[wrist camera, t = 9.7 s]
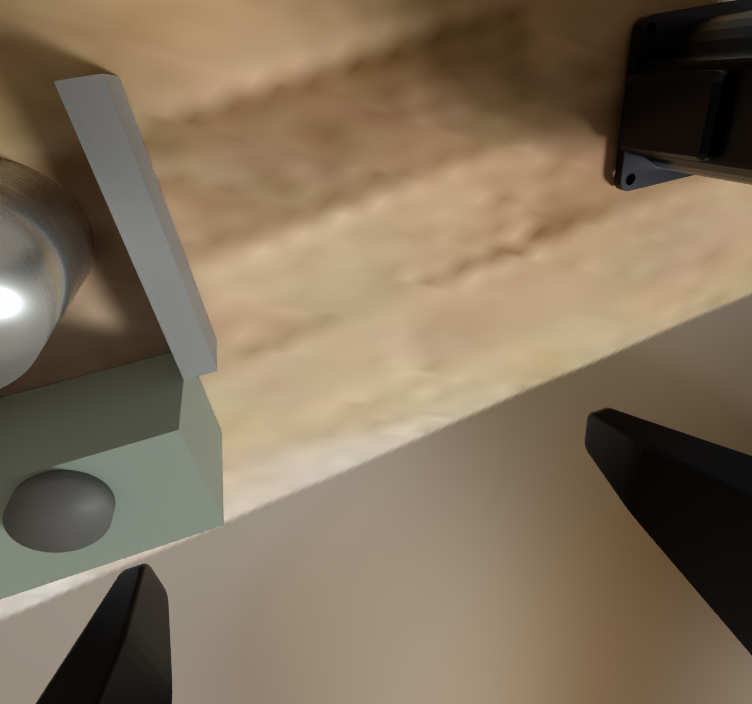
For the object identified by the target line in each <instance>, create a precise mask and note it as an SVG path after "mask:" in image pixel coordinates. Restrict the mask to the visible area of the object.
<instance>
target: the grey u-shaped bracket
mask: <svg viewBox="0 0 752 704" xmlns="http://www.w3.org/2000/svg"><path fill="white" fill-rule="evenodd" d="M54 83H55V86H56V88H57V90H58V92H59V95H60V97H61V99H62V102H63V104H64V106H65V109H66V111H67V113H68V115H69V118H70V120H71V122H72V125H73V127H74V129H75V132H76V134H77V136H78V138H79V141H80V143H81V145H82V148H83V150H84V152H85V154H86V157H87V159H88V161H89V164H90V166H91V168H92V171H93V173H94V175H95V177H96V180H97V182H98V184H99V187H100V189H101V191H102V193H103V196H104V198H105V200H106V203H107V205H108V207H109V210H110V212H111V214H112V216H113V219H114V221H115V223H116V226H117V228H118V230H119V233H120V235H121V237H122V239H123V242H124V244H125V246H126V249H127V251H128V253H129V255H130V258H131V260H132V262H133V265H134V267H135V269H136V272H137V274H138V276H139V278H140V281H141V283H142V285H143V288H144V290H145V292H146V294H147V297H148V299H149V301H150V304H151V306H152V308H153V311H154V313H155V315H156V317H157V320H158V322H159V324H160V327H161V329H162V331H163V334H164V336H165V338H166V340H167V343H168V345H169V347H170V350H171V352H172V353H168V354H164V355H160V356H156V357H153V358H149V359H145V360H141V361H137V362H134V363H130V364H126V365H122V366H118V367H115V368H111V369H107V370H103V371H99V372H96V373H92V374H88V375H84V376H80V377H77V378H73V379H69V380H65V381H61V382H58V383H54V384H50V385H46V386H42V387H39V388H35V389H31V390H27V391H23V392H20V393H16V394H12V395H8V396H4V397H1V398H0V599H3V598H6V597H9V596H12V595H15V594H18V593H21V592H24V591H27V590H30V589H33V588H36V587H39V586H42V585H45V584H48V583H51V582H54V581H57V580H60V579H63V578H66V577H69V576H72V575H75V574H78V573H81V572H84V571H87V570H90V569H93V568H96V567H99V566H102V565H105V564H108V563H111V562H114V561H117V560H120V559H123V558H126V557H129V556H132V555H135V554H138V553H141V552H144V551H147V550H150V549H153V548H156V547H159V546H162V545H165V544H168V543H171V542H174V541H177V540H180V539H183V538H186V537H189V536H192V535H195V534H198V533H201V532H204V531H207V530H210V529H213V528H216V527H219V526H222V525H224V514H223V471H222V432H221V429H220V427H219V425H218V422H217V420H216V417H215V415H214V412H213V410H212V408H211V405H210V403H209V400H208V398H207V396H206V393H205V391H204V388H203V386H202V383H201V381H200V379H199V376H200V375H204V374H207V373H211V372H215V371H217V340H216V337H215V335H214V332H213V329H212V327H211V324H210V321H209V319H208V316H207V313H206V310H205V308H204V305H203V302H202V300H201V297H200V294H199V292H198V289H197V286H196V284H195V281H194V278H193V275H192V273H191V270H190V267H189V265H188V262H187V259H186V257H185V254H184V251H183V249H182V246H181V243H180V240H179V238H178V235H177V232H176V230H175V227H174V224H173V222H172V219H171V216H170V214H169V211H168V208H167V205H166V203H165V200H164V197H163V195H162V192H161V189H160V187H159V184H158V181H157V179H156V176H155V173H154V170H153V168H152V165H151V162H150V160H149V157H148V154H147V152H146V149H145V146H144V144H143V141H142V138H141V136H140V133H139V130H138V127H137V125H136V122H135V119H134V117H133V114H132V111H131V109H130V106H129V103H128V101H127V98H126V95H125V92H124V90H123V87H122V84H121V82H120V79H119V76H116V75H110V74H103V73H101V74H95V75H89V76H82V77H76V78H69V79H63V80H57V81H54Z"/></svg>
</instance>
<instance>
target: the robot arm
mask: <svg viewBox="0 0 752 704" xmlns="http://www.w3.org/2000/svg"><path fill="white" fill-rule="evenodd" d="M646 26H648V32H647V35H646V36H645V28H646ZM628 175H629V178H628V180H627V182H626V178H627V176H628ZM691 175H699V176H705V177H711V178H716V179H722V180H728V181H734V182H739V183H745V184H751V185H752V0H735V1H729V2H723V3H717V4H711V5H705V6H699V7H693V8H688V9H682V10H676V11H670V12H664V13H658V14H652V15H646V16H643V17H641V18H639V19H638V20H637V21H636V22H635V24H634V26H633V29H632V33H631V41H630V50H629V58H628V67H627V76H626V84H625V93H624V102H623V111H622V119H621V128H620V137H619V146H618V154H617V163H616V172H615V186H616V188H618V189H620V190H624V191H630V190H634V189H638V188H643V187H647V186H651V185H655V184H659V183H663V182H667V181H671V180H675V179H679V178H683V177H687V176H691ZM585 447H586V449H587V452H588V453H589V455H590V456H591V458H592V459H593V460H594V462H595V463H596V465H597V466H598V468H599V469H600V471H601V472H602V473H603V475H604V476H605V478H606V479H607V480H608V482H609V483H610V485H611V486H612V488H613V489H614V491H615V492H616V493H617V495H618V496H619V498H620V499H621V501H622V502H623V503H624V505H625V506H626V507H627V509H628V510H629V512H630V513H631V514H632V515H633V517H634V518H635V519H636V520H637V521H638V522H639V524H640V525H641V526H642V527H643V528H644V530H645V531H646V532H647V533H648V534H649V536H650V537H651V538H652V539H653V540H654V541H655V543H656V544H657V545H658V546H659V547H660V548H661V550H662V551H663V552H664V553H665V554H666V555H667V557H668V558H669V559H670V560H671V561H672V562H673V564H674V565H675V566H676V567H677V568H678V570H679V571H680V572H681V573H682V574H683V575H684V577H685V578H686V579H687V580H688V581H689V582H690V584H691V585H692V586H693V587H694V588H695V589H696V591H697V592H698V593H699V594H700V595H701V596H702V598H703V599H704V600H705V601H706V602H707V604H708V605H709V606H710V607H711V608H712V609H713V611H714V612H715V613H716V614H717V615H718V616H719V617H720V619H721V620H722V621H723V622H724V623H725V625H726V626H727V627H728V628H729V629H730V630H731V631H732V633H733V634H734V635H735V636H736V637H737V639H738V640H739V641H740V642H741V643H742V645H743V646H744V647H745V648H746V649H747V650H748V651H749V653H750V654H751V655H752V456H750V455H747V454H745V453H741V452H738V451H736V450H733V449H730V448H727V447H724V446H721V445H718V444H715V443H712V442H709V441H706V440H703V439H700V438H697V437H694V436H691V435H689V434H685V433H683V432H680V431H677V430H673V429H671V428H668V427H665V426H662V425H659V424H656V423H653V422H650V421H647V420H644V419H641V418H638V417H635V416H632V415H629V414H627V413H624V412H620V411H618V410H614V409H612V408H602V409H599V410H596V411H593V412H591V413H590V414H589V415H588V417H587V423H586V432H585ZM168 607H169V606H168V597H167V593H166V590H165V588H164V586H163V585H162V583H161V582H160V580H159V579H158V577H157V576H156V574H155V573H154V571H153V569H152V568H151V567H150V566H149V565H148V564H141V565H138V566H135V567H132V568H129V569H126V570H124V571H123V572H122V573H121V574H120V575H119V576H118V578H117V579H116V581H115V582H114V584H113V585H112V587H111V588H110V590H109V591H108V593H107V595H106V596H105V598H104V599H103V601H102V602H101V604H100V605H99V607H98V608H97V610H96V612H95V613H94V615H93V616H92V618H91V619H90V621H89V622H88V624H87V625H86V627H85V629H84V630H83V632H82V633H81V635H80V636H79V638H78V639H77V641H76V642H75V644H74V646H73V647H72V649H71V650H70V652H69V653H68V655H67V656H66V658H65V659H64V661H63V662H62V664H61V666H60V667H59V669H58V670H57V672H56V673H55V675H54V676H53V678H52V679H51V681H50V682H49V684H48V685H47V687H46V688H45V690H44V692H43V693H42V695H41V696H40V698H39V699H38V701H37V702H36V704H172V669H171V649H170V628H169V608H168Z"/></svg>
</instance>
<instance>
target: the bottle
mask: <svg viewBox="0 0 752 704" xmlns="http://www.w3.org/2000/svg"><path fill="white" fill-rule="evenodd" d="M93 257H94V244H93V237H92V233H91V230H90V227H89V225H88V222H87V220H86V218H85V216H84V215H83V213H82V211H81V210H80V208H79V207H78V205H77V204H76V203H75V201H74V200H73V199H72V198H71V197H70V196H69V195H68V194H67V193H66V192H65V191H64V190H63V189H62V188H61V187H59V186H58V185H57V184H56V183H54V182H53V181H51V180H50V179H49V178H47V177H46V176H44V175H42V174H40V173H39V172H37V171H35V170H33V169H30V168H28V167H26V166H24V165H21V164H18V163H15V162H12V161H7V160H3V159H0V389H1V388H3V387H5V386H7V385H8V384H10V383H12V382H13V381H15V380H16V379H18V378H19V377H20V376H21V375H22V374H24V373H25V372H26V371H27V370H28V369H29V368H30V366H31V365H32V364H33V363H34V362H35V360H36V359H37V357H38V355H39V354H40V352H41V350H42V349H43V347H44V346H45V344H46V342H47V341H48V339H49V337H50V336H51V334H52V333H53V331H54V329H55V328H56V326H57V324H58V323H59V321H60V320H61V318H62V316H63V315H64V313H65V312H66V310H67V308H68V307H69V305H70V303H71V302H72V300H73V299H74V297H75V295H76V294H77V292H78V290H79V289H80V287H81V286H82V284H83V282H84V281H85V279H86V277H87V276H88V274H89V272H90V269H91V266H92V262H93Z"/></svg>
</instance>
